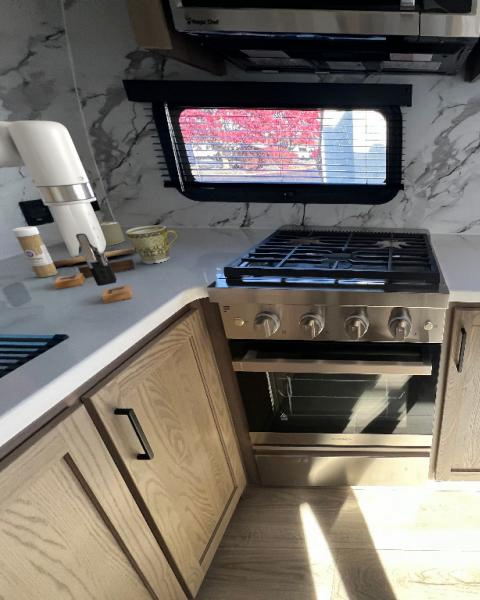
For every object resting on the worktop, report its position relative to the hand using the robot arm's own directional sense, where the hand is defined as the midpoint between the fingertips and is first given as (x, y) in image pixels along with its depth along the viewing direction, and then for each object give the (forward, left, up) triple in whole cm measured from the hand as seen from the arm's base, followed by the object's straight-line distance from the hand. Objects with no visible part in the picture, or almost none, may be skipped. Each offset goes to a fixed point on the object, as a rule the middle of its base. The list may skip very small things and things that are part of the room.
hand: (107, 283), depth 71 cm
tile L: (0, +8, -6) cm, 10 cm away
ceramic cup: (+10, +34, -7) cm, 36 cm away
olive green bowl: (-6, +71, -7) cm, 72 cm away
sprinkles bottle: (-17, +39, -7) cm, 43 cm away
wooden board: (-8, +49, -6) cm, 50 cm away
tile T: (-11, +26, -6) cm, 29 cm away
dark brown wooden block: (-3, +31, -6) cm, 32 cm away
